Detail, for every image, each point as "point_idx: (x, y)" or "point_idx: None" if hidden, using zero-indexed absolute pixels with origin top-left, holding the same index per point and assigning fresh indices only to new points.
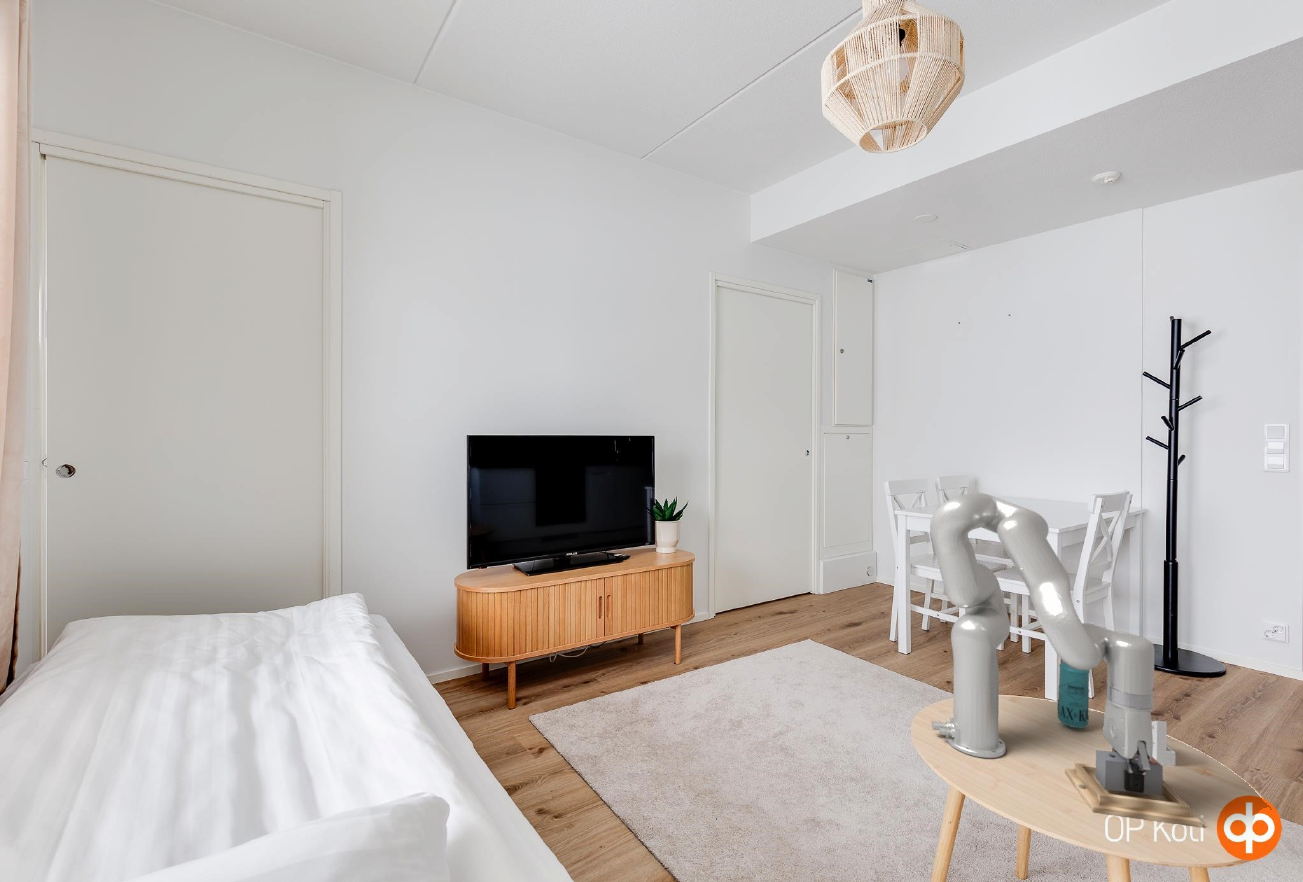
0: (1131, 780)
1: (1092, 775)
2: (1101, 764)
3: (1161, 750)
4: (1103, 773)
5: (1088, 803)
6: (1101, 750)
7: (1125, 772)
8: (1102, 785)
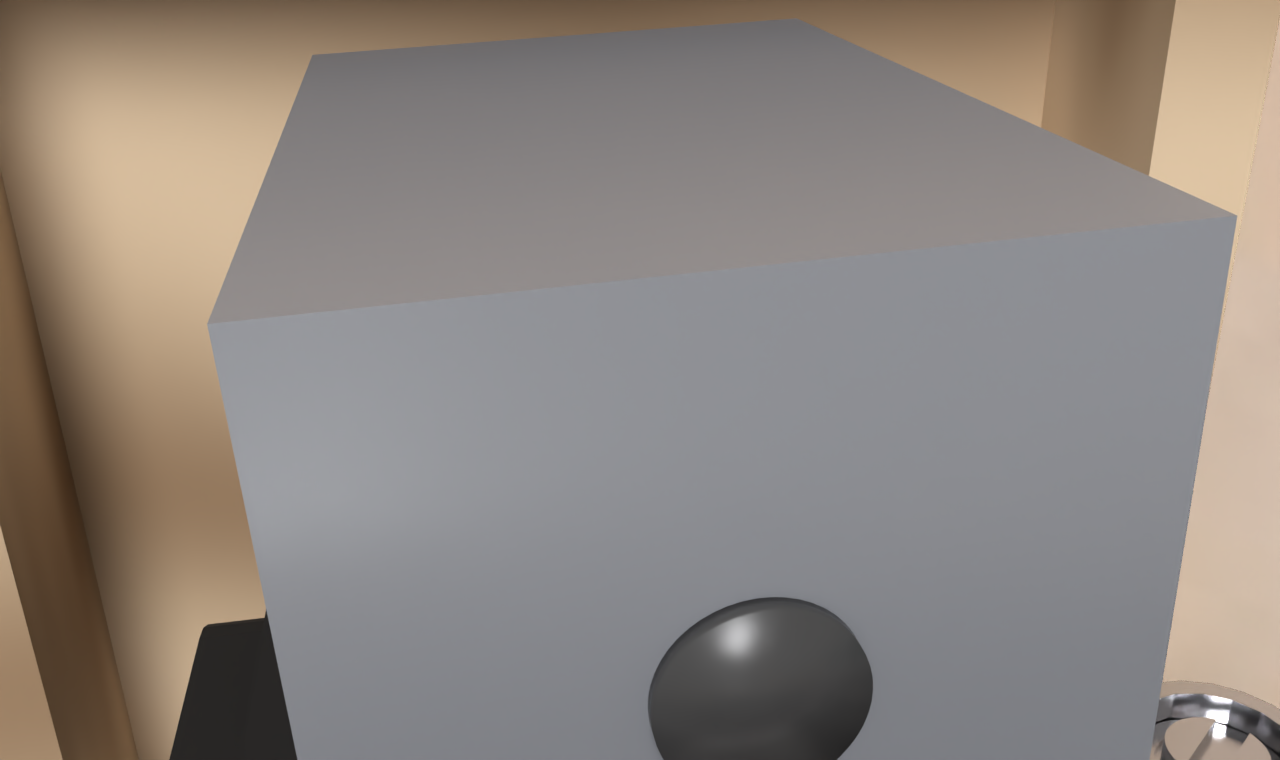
0: (192, 734)
1: (1062, 60)
2: (590, 161)
3: None
4: (415, 121)
5: None
6: (1198, 435)
7: (257, 743)
8: (438, 45)
